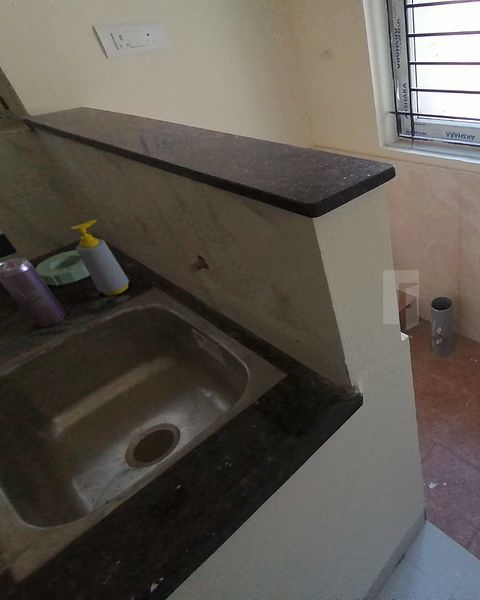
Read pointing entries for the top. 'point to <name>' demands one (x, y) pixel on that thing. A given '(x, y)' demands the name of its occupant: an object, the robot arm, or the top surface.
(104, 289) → the soap bottle
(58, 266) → the socket pad
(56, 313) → the beverage can
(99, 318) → the top surface
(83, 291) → the top surface
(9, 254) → the robot arm
